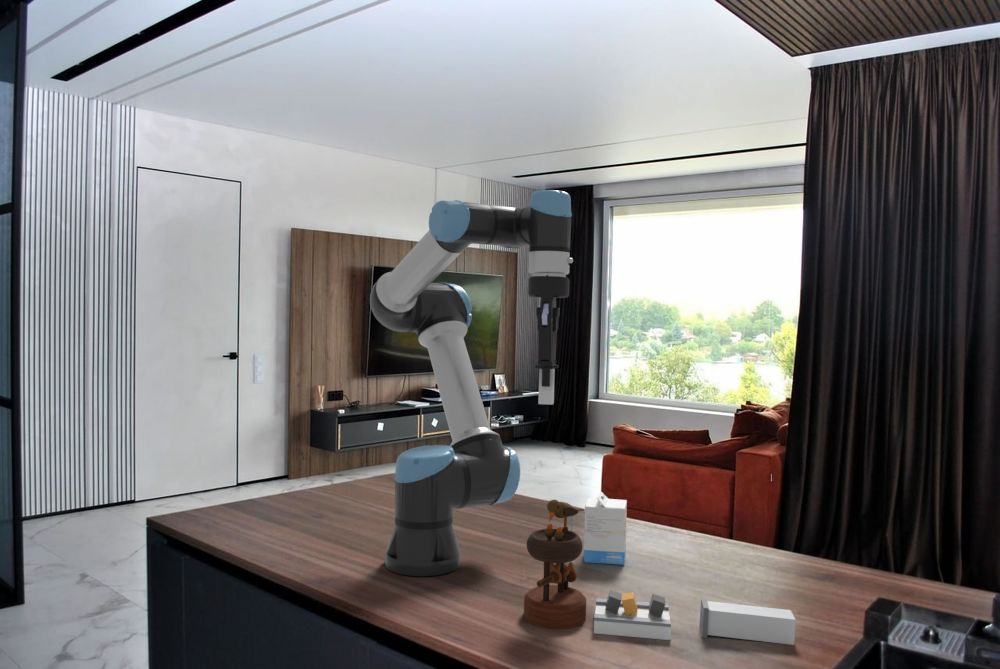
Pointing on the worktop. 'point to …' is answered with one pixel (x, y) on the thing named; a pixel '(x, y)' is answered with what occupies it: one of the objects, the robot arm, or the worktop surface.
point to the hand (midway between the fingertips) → (546, 403)
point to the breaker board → (632, 622)
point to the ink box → (605, 530)
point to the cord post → (747, 622)
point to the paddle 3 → (656, 605)
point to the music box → (556, 574)
